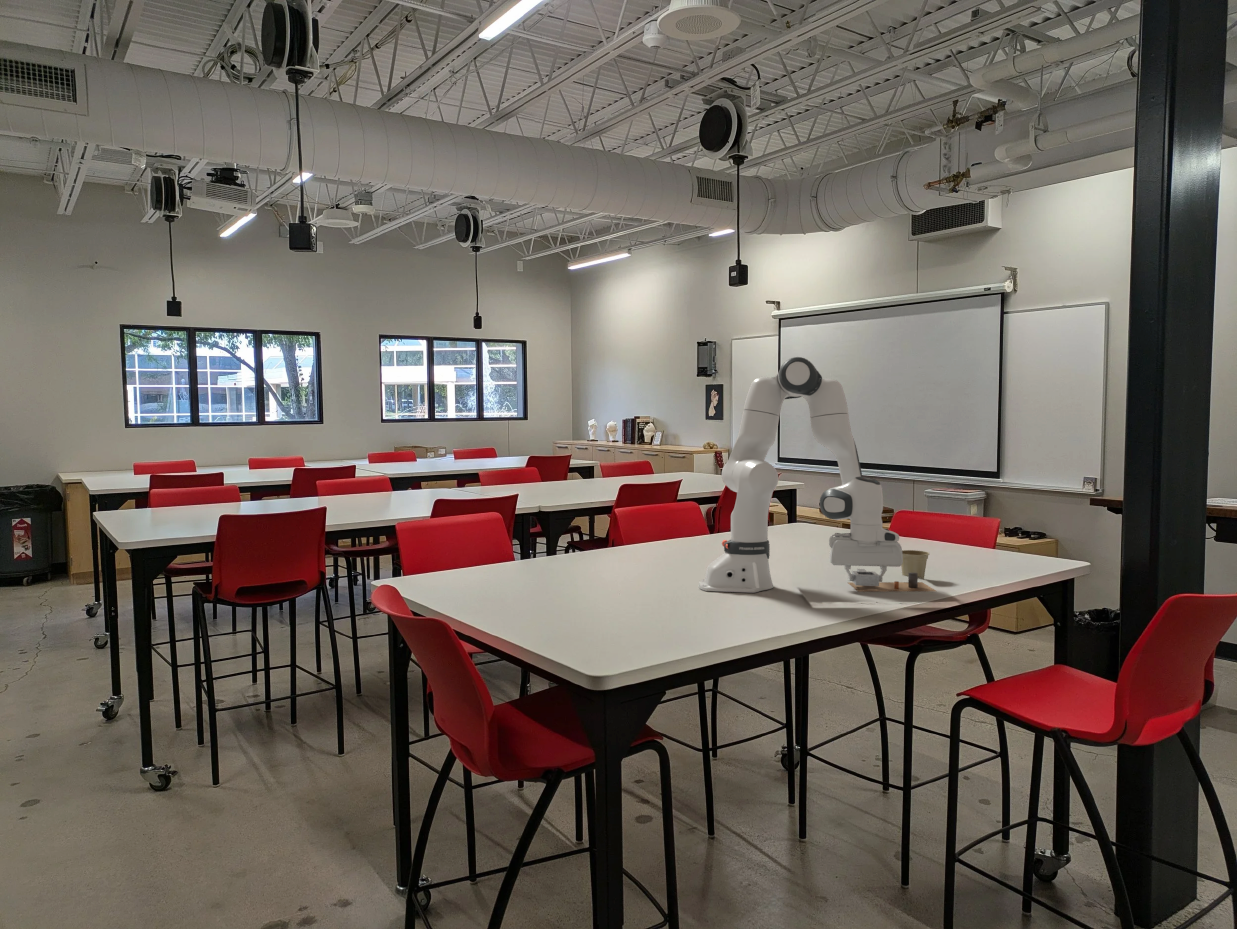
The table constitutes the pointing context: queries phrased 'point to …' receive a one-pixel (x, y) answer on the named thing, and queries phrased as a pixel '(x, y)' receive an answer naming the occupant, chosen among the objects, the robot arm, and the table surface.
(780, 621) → the table surface
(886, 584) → the board
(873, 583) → the grey square frame
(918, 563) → the flower pot
